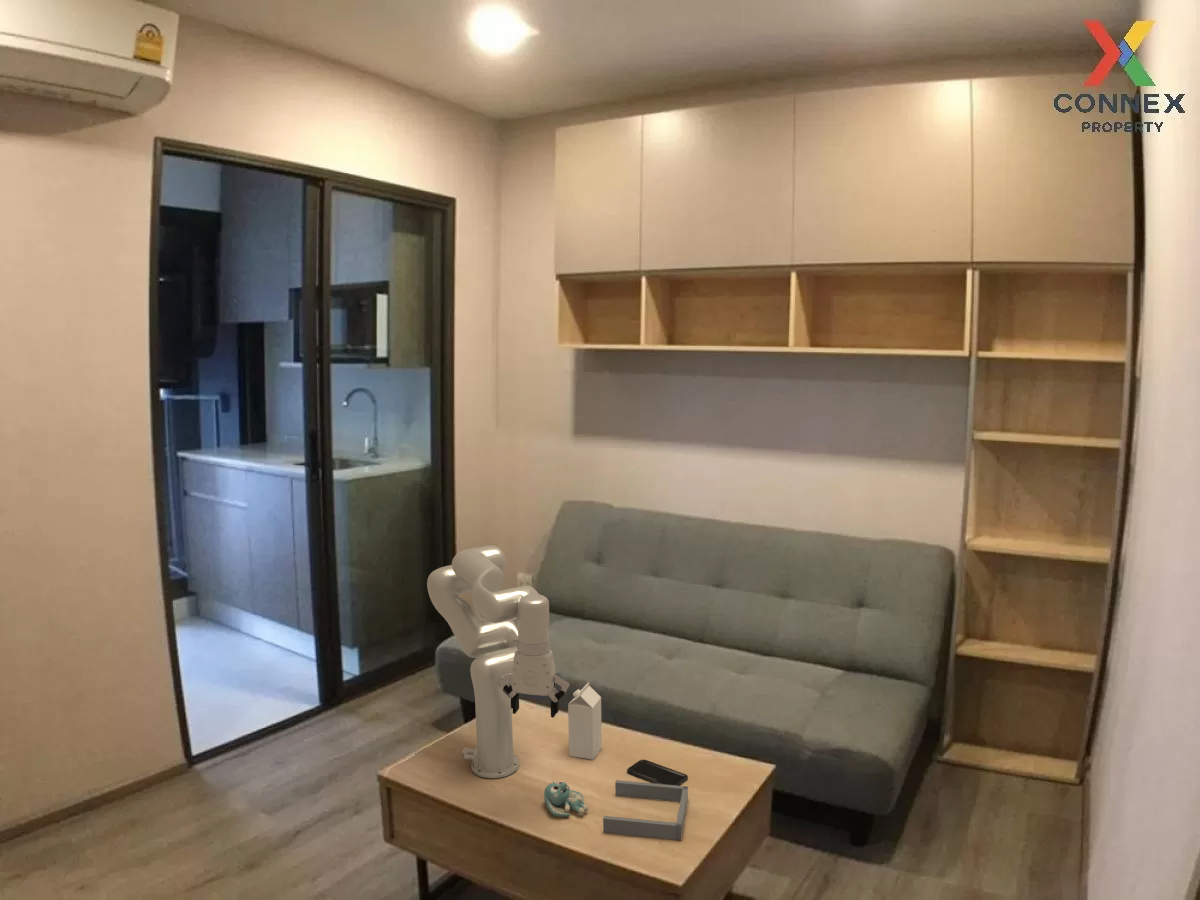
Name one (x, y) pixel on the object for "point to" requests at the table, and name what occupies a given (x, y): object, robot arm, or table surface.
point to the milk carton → (585, 723)
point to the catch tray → (649, 826)
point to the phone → (656, 773)
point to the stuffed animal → (563, 799)
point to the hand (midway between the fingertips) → (534, 713)
